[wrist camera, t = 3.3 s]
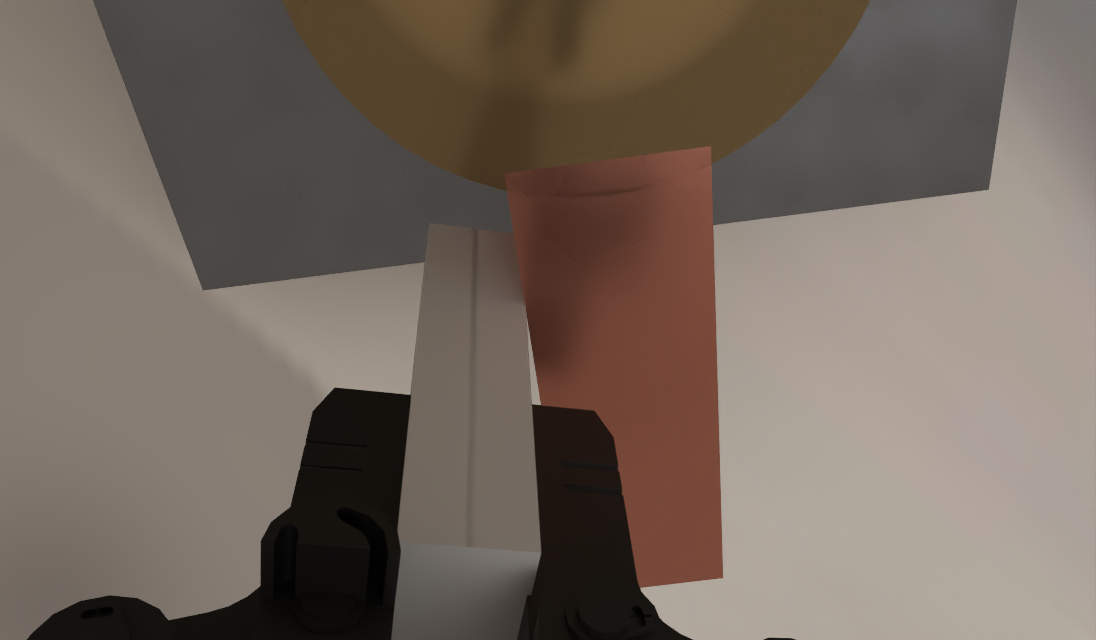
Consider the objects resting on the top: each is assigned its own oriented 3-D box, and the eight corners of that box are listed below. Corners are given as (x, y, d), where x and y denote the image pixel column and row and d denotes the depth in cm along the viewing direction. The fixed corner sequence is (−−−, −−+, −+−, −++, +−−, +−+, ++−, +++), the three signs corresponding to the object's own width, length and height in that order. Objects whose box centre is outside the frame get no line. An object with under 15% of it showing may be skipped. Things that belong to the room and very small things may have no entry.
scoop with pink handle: (228, -432, 11) (151, -460, 9) (842, -525, 11) (944, -579, 8) (450, 488, 19) (445, 610, 17) (804, 445, 19) (852, 562, 17)
